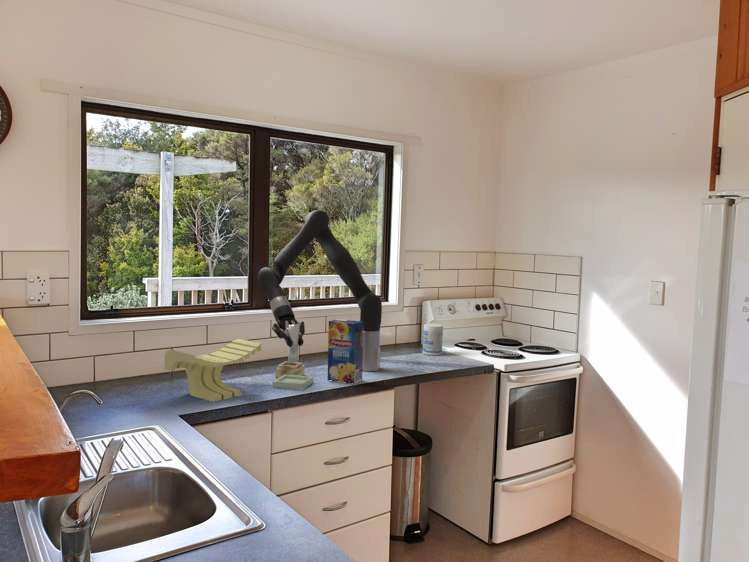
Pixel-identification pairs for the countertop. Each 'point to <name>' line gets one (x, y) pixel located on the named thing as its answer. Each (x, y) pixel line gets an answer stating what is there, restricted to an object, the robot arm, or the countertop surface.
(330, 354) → the juice carton
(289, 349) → the translucent grey cylinder
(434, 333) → the supplement tub
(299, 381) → the tray
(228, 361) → the slatted curved stool
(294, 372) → the bracket block
